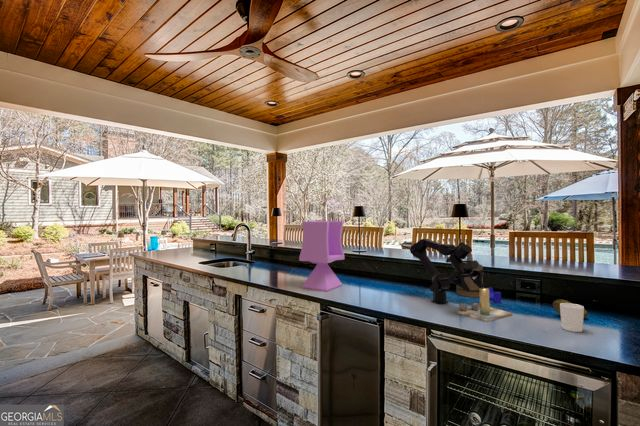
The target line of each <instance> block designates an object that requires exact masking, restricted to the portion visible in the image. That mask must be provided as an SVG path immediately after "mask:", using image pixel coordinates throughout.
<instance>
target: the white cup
mask: <svg viewBox="0 0 640 426" xmlns="http://www.w3.org/2000/svg"><path fill="white" fill-rule="evenodd" d="M584 309H585V307H584V305H581V304H577V303H572V302H570V303H560V321H561V328H562V329H563V330H565V331H568V332H572V333H573V332H574V333H581V332H583V328H584V327H583V325H584V318H583V317H584Z"/></svg>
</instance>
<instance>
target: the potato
mask: <svg viewBox="0 0 640 426" xmlns="http://www.w3.org/2000/svg"><path fill="white" fill-rule="evenodd" d="M560 303H571V302H570V301H568V300H565V299H560V298H559V299H556V300H554V301H553V302H552V306H553V308H554V311H555V312H557V313H558V314H560ZM588 313H589V312H588V311H587V310H586V309H585V308H584V317H583V319H586V318H587V317H588V315H589V314H588ZM560 315H561V314H560Z"/></svg>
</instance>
